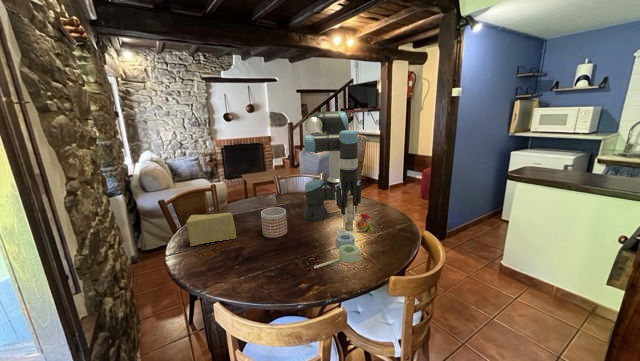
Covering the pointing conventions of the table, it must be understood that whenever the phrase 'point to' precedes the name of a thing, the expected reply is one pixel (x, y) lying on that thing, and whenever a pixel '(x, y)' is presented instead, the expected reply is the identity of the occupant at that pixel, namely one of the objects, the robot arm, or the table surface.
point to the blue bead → (345, 239)
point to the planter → (274, 222)
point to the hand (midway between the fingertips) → (348, 220)
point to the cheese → (210, 228)
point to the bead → (349, 253)
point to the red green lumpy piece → (361, 224)
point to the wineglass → (343, 221)
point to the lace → (326, 263)
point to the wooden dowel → (349, 213)
